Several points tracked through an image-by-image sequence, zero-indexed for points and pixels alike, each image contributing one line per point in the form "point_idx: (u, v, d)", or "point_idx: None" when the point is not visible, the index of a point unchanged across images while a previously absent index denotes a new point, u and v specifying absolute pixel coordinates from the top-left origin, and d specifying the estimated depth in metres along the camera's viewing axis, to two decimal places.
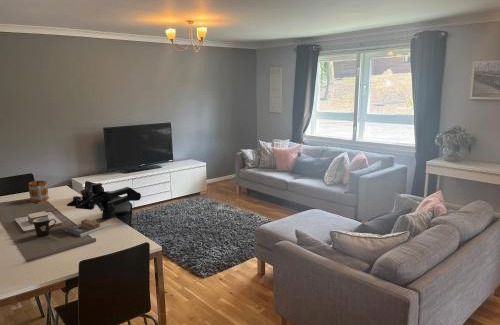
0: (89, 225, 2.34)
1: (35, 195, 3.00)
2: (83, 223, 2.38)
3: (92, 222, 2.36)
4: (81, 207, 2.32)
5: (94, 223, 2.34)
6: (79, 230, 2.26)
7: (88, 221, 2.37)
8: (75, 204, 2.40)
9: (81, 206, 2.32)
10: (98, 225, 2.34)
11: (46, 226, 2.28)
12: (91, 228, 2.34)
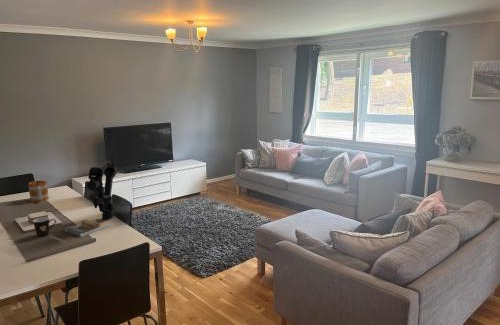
0: (89, 225, 2.34)
1: (35, 195, 3.00)
2: (83, 223, 2.38)
3: (92, 222, 2.36)
4: (106, 205, 2.39)
5: (94, 223, 2.34)
6: (79, 230, 2.26)
7: (88, 221, 2.37)
8: (96, 199, 2.45)
9: (105, 205, 2.39)
10: (98, 225, 2.34)
11: (46, 226, 2.28)
12: (91, 228, 2.34)
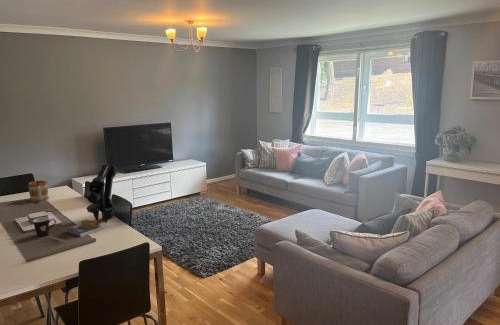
0: (89, 225, 2.34)
1: (35, 195, 3.00)
2: (83, 223, 2.38)
3: (92, 222, 2.36)
4: (107, 217, 2.41)
5: (94, 223, 2.34)
6: (79, 230, 2.26)
7: (88, 221, 2.37)
8: (97, 211, 2.46)
9: (106, 218, 2.40)
10: (98, 225, 2.34)
11: (46, 226, 2.28)
12: (91, 228, 2.34)
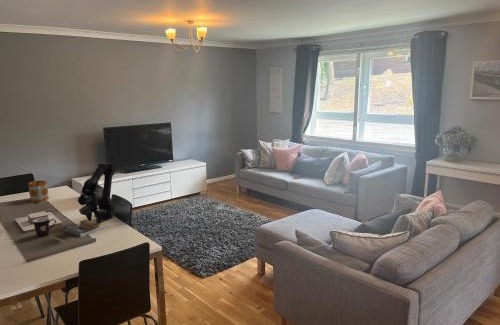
0: (88, 225, 2.34)
1: (35, 195, 3.00)
2: (82, 223, 2.37)
3: (91, 222, 2.36)
4: (100, 220, 2.36)
5: (93, 223, 2.34)
6: (79, 230, 2.26)
7: (88, 222, 2.37)
8: (90, 213, 2.42)
9: (99, 220, 2.36)
10: (97, 225, 2.34)
11: (46, 226, 2.28)
12: (90, 228, 2.33)
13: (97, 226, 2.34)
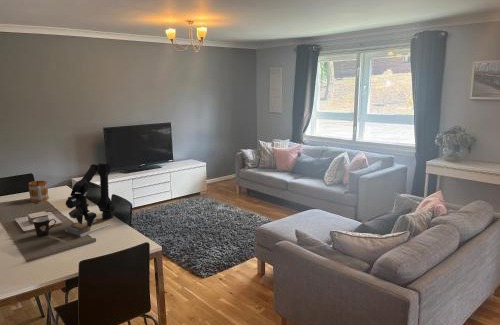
0: None
1: (35, 195, 3.00)
2: (73, 226, 2.32)
3: (81, 225, 2.30)
4: (91, 223, 2.31)
5: (84, 227, 2.28)
6: (79, 230, 2.26)
7: (78, 225, 2.31)
8: (81, 216, 2.36)
9: (90, 223, 2.30)
10: (88, 229, 2.28)
11: (46, 226, 2.28)
12: None
13: (88, 229, 2.28)
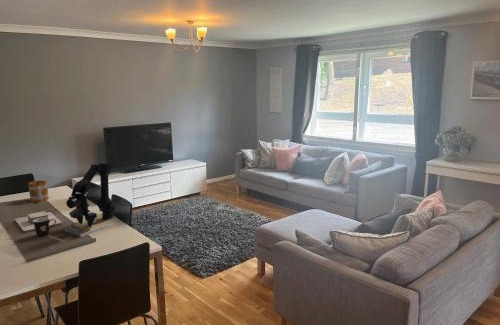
0: None
1: (35, 195, 3.00)
2: (73, 226, 2.32)
3: (81, 225, 2.30)
4: (91, 223, 2.31)
5: (84, 226, 2.28)
6: (79, 230, 2.26)
7: (78, 225, 2.31)
8: (81, 216, 2.37)
9: (90, 223, 2.31)
10: (88, 229, 2.28)
11: (46, 226, 2.28)
12: None
13: (88, 229, 2.28)
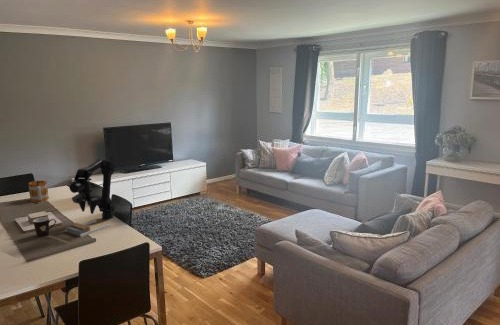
0: None
1: (35, 195, 3.00)
2: (73, 226, 2.32)
3: (81, 225, 2.30)
4: (93, 208, 2.32)
5: (84, 226, 2.28)
6: (79, 230, 2.26)
7: (78, 225, 2.31)
8: (83, 202, 2.37)
9: (92, 209, 2.31)
10: (88, 229, 2.28)
11: (46, 226, 2.28)
12: None
13: (88, 229, 2.28)
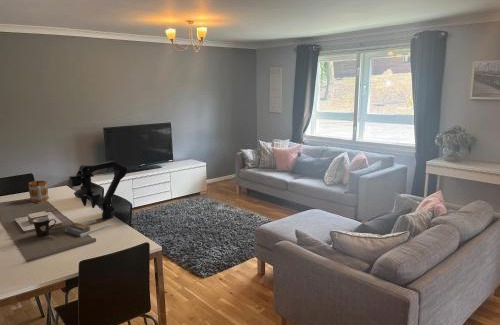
0: None
1: (35, 195, 3.00)
2: (73, 226, 2.32)
3: (81, 225, 2.30)
4: (95, 203, 2.42)
5: (84, 226, 2.28)
6: (79, 230, 2.26)
7: (78, 225, 2.31)
8: (85, 196, 2.48)
9: (94, 203, 2.42)
10: (88, 229, 2.28)
11: (46, 226, 2.28)
12: None
13: (88, 229, 2.28)
